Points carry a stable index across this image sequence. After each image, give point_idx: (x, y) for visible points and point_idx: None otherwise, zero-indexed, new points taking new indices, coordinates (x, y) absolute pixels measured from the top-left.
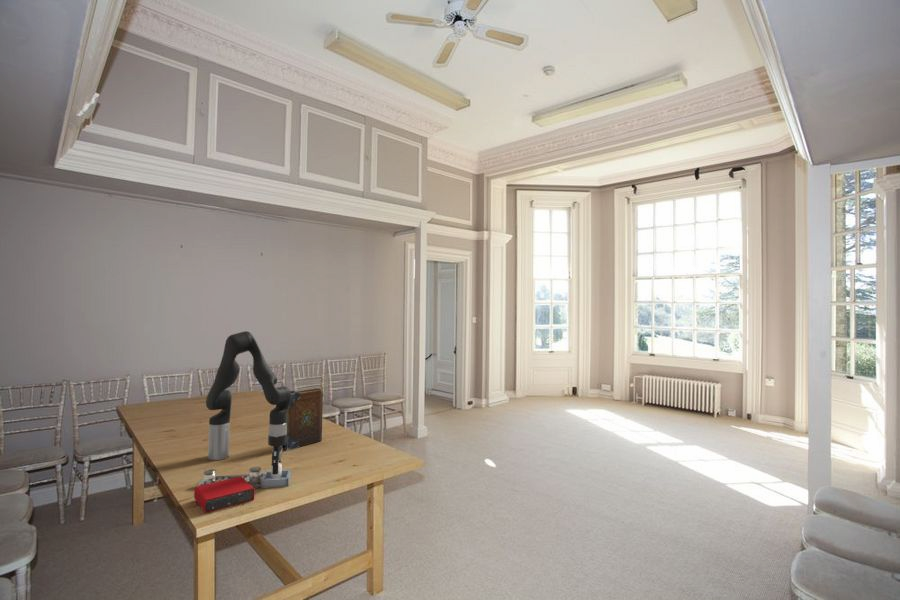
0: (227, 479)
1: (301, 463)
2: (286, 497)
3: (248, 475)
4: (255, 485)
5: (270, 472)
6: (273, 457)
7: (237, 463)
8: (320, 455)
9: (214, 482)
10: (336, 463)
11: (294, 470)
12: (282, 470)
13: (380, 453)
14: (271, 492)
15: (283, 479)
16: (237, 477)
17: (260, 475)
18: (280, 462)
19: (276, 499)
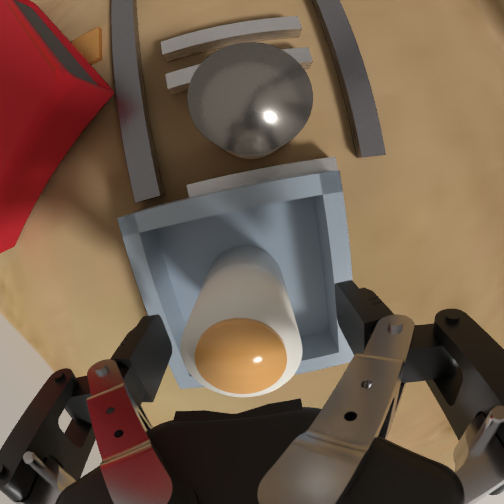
0: (34, 32)
1: (492, 312)
2: (74, 369)
3: (336, 51)
4: (139, 171)
5: (325, 224)
6: (24, 441)
7: (481, 11)
8: None
9: (17, 10)
10: (438, 427)
11: (427, 319)
12: None
13: (454, 464)
14: (94, 298)
15: (169, 364)
16: (49, 64)
17: (354, 130)
18: (352, 347)
19: (48, 336)
